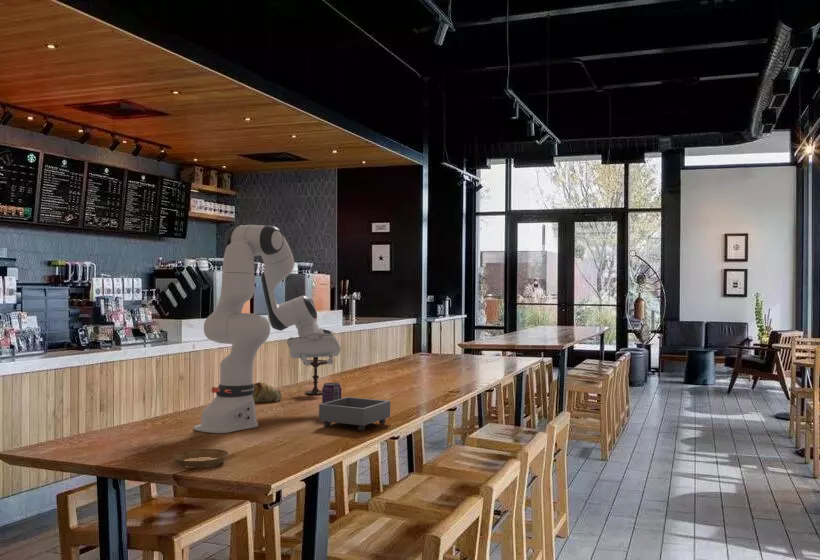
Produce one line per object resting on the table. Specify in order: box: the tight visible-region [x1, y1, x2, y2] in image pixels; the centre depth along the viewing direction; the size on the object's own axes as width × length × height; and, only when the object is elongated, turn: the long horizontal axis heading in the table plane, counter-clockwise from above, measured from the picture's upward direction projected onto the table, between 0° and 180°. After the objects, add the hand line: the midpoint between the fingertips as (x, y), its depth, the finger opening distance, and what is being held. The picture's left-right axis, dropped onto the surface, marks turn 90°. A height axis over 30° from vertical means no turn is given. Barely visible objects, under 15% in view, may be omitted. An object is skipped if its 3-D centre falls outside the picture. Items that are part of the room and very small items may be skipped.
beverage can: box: [321, 382, 342, 404], centre depth 278 cm, size 7×7×12 cm
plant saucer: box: [173, 448, 229, 468], centre depth 207 cm, size 15×15×3 cm
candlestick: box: [302, 315, 329, 396], centre depth 329 cm, size 11×11×35 cm
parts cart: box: [318, 396, 391, 432], centre depth 260 cm, size 18×18×8 cm
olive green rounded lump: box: [253, 382, 282, 403], centre depth 311 cm, size 14×12×8 cm
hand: (319, 364), depth 289 cm, fingers open, 8 cm apart
